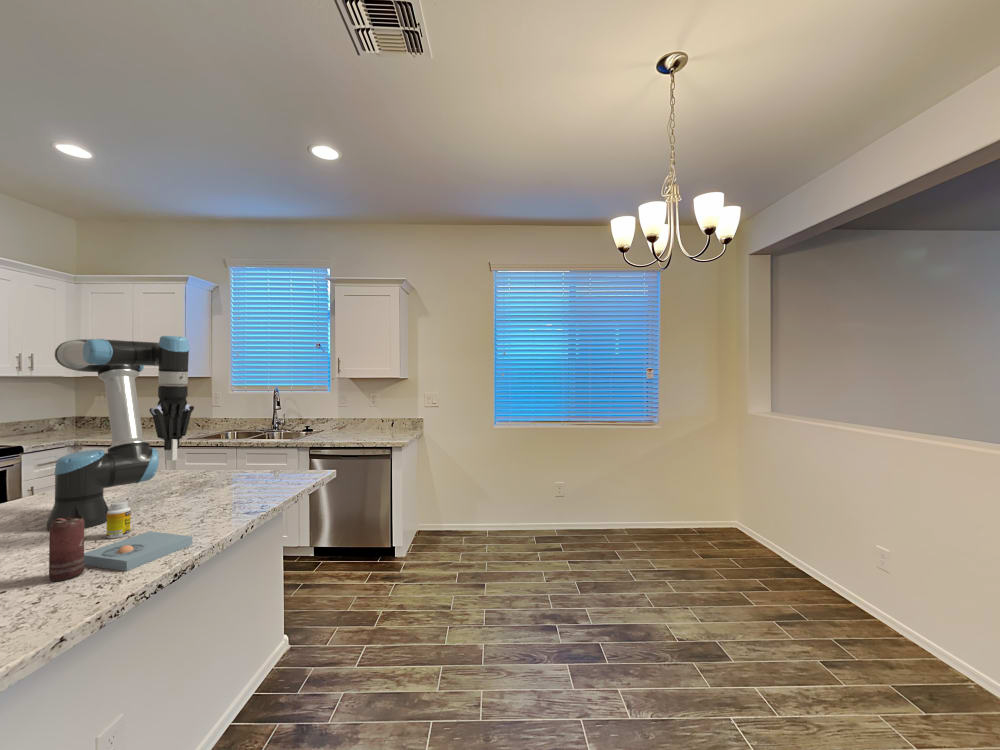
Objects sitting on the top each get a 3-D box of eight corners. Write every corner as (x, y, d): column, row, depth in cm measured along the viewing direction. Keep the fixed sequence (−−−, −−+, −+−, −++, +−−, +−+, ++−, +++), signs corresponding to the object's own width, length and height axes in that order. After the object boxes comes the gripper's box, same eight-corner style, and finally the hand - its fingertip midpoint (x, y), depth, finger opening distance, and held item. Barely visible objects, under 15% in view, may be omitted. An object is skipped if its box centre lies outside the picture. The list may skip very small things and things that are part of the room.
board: (79, 564, 115) (79, 554, 115) (149, 539, 133) (149, 531, 133) (126, 571, 111) (126, 561, 111) (192, 544, 129) (192, 536, 129)
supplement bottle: (127, 537, 134) (127, 503, 134) (103, 540, 132) (104, 505, 132) (132, 531, 139) (133, 499, 139) (110, 534, 137) (110, 501, 137)
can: (63, 571, 111) (63, 515, 111) (90, 570, 112) (91, 515, 112) (40, 582, 105) (40, 523, 105) (69, 581, 105) (69, 522, 106)
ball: (112, 560, 117) (114, 546, 118) (127, 556, 121) (128, 542, 121) (122, 562, 116) (123, 548, 117) (136, 558, 120) (138, 544, 120)
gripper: (161, 386, 132) (159, 464, 133) (201, 385, 145) (199, 457, 145) (142, 385, 134) (140, 462, 135) (183, 384, 147) (181, 455, 147)
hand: (171, 459), depth 140 cm, fingers closed
